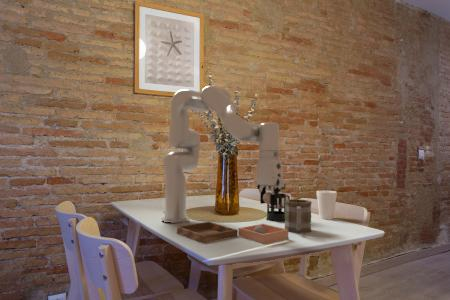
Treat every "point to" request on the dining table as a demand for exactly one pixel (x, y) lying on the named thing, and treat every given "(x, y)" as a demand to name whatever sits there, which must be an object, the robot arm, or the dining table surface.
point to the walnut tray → (207, 232)
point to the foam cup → (326, 204)
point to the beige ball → (267, 197)
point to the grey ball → (259, 229)
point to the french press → (277, 215)
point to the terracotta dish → (269, 236)
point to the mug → (298, 216)
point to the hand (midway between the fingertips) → (268, 203)
